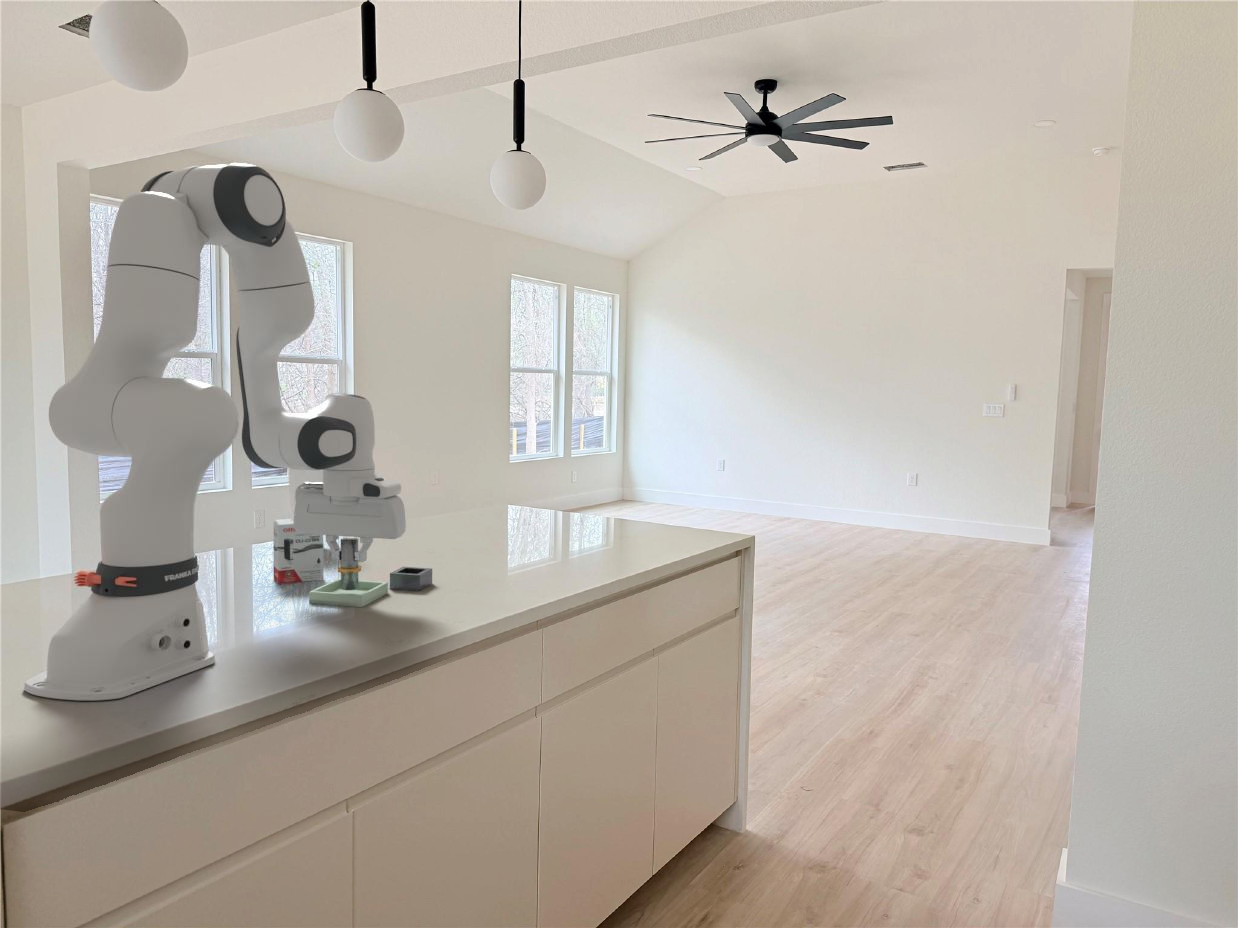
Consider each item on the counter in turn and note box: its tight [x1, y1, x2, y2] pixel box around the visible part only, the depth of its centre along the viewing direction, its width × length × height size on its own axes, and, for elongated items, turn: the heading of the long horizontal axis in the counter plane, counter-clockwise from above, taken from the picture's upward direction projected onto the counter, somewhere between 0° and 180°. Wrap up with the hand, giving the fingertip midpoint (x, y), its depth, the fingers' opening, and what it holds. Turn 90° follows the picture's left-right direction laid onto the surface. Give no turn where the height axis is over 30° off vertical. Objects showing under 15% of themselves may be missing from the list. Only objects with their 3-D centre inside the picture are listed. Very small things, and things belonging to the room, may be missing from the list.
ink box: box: [273, 518, 324, 585], centre depth 161 cm, size 8×5×12 cm, turn 123°
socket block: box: [389, 566, 433, 592], centre depth 158 cm, size 6×6×3 cm
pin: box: [337, 537, 362, 590], centre depth 148 cm, size 4×4×9 cm
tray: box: [308, 578, 389, 608], centre depth 148 cm, size 10×10×2 cm
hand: (349, 560), depth 148 cm, fingers closed on pin, 3 cm apart
